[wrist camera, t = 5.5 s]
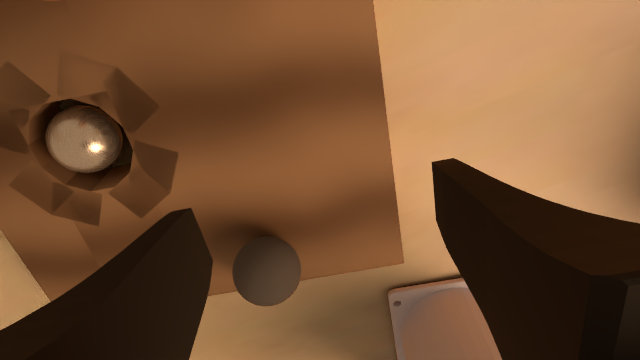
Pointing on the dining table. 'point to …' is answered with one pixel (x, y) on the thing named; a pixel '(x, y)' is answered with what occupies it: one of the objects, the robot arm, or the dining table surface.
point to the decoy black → (266, 271)
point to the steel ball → (84, 139)
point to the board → (199, 131)
